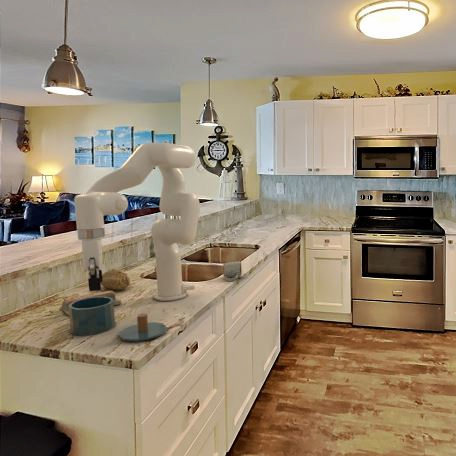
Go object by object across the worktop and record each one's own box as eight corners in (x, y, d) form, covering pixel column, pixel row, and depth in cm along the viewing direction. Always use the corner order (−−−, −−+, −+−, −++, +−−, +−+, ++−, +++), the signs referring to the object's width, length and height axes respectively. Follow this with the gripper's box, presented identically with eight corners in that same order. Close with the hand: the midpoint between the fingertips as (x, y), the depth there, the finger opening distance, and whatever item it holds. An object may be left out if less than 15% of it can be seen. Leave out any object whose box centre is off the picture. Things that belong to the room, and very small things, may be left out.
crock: (114, 318, 143) (112, 294, 141) (115, 330, 132) (113, 305, 130) (72, 324, 137) (70, 299, 136) (69, 338, 126) (67, 311, 125)
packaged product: (67, 303, 143) (59, 297, 150) (68, 316, 144) (60, 309, 151) (120, 292, 156) (111, 286, 163) (121, 304, 157) (112, 298, 164)
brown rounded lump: (103, 285, 187) (91, 288, 168) (106, 267, 188) (95, 269, 169) (134, 288, 190) (126, 291, 171) (137, 271, 191) (129, 273, 172)
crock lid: (163, 323, 138) (162, 305, 137) (169, 337, 126) (168, 318, 125) (118, 330, 132) (117, 311, 131) (120, 346, 120) (118, 326, 119)
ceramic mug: (224, 275, 198) (224, 260, 197) (242, 275, 199) (241, 259, 198) (221, 282, 188) (221, 265, 187) (240, 281, 189) (239, 265, 187)
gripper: (80, 230, 135) (85, 280, 138) (74, 239, 120) (80, 295, 123) (106, 228, 138) (110, 278, 141) (103, 237, 123) (108, 292, 126)
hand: (96, 286), depth 132 cm, fingers open, 9 cm apart
